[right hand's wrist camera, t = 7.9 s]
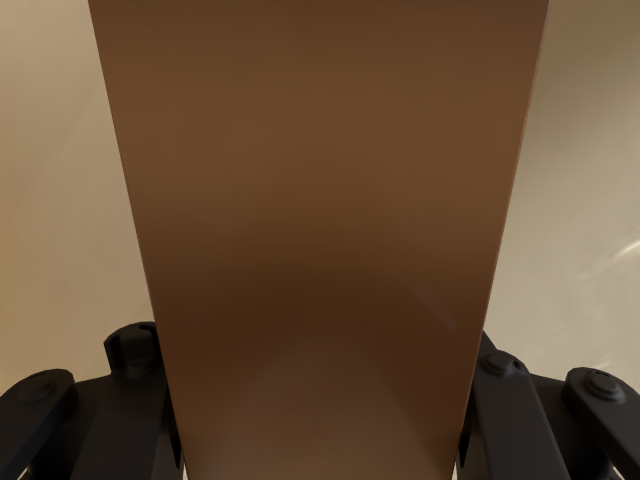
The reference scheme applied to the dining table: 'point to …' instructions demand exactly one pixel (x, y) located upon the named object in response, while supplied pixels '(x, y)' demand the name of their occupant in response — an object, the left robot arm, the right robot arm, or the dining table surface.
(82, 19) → the dining table surface
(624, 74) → the dining table surface
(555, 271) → the dining table surface
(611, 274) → the dining table surface
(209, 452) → the bar
